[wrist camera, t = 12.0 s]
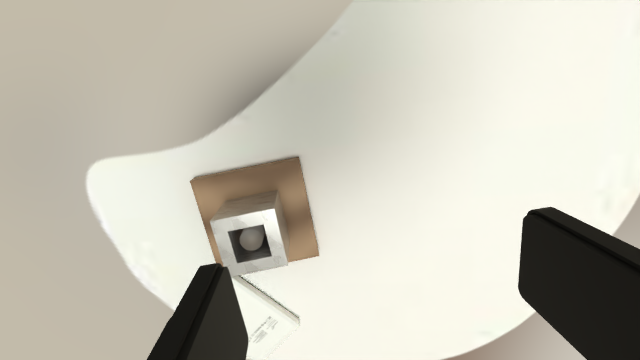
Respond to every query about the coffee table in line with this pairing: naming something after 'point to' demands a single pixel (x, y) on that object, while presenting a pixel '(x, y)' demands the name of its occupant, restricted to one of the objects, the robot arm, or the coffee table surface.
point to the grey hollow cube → (249, 214)
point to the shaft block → (256, 181)
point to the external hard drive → (263, 320)
